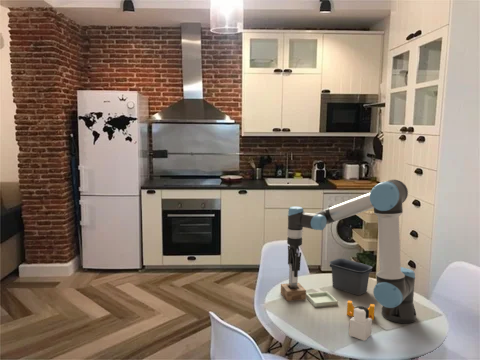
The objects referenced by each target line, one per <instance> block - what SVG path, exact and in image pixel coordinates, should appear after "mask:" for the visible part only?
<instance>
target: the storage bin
mask: <svg viewBox="0 0 480 360" xmlns="http://www.w3.org/2000/svg"><path fill="white" fill-rule="evenodd" d="M328 263H329V267H330V268H331V277H332V278H331V279H332V281H331V283H332V288H336V289H338V290H339V291H340V290H341V291H343V292H347V293H350V294H353V295H354V296H361V295H363V294H365V293H367V292H368V286H369V279H370V278H369V277H370V273H371V272H372V269H373V266H371V265H368V264H367V263H365V264H364V263H361V262H357V261H355V260H350V259H345V258H341V257H339V258H336V259H334V260H330V261H329V262H328Z"/></svg>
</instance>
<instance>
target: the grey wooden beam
mask: <svg viewBox="0 0 480 360" xmlns="http://www.w3.org/2000/svg"><path fill="white" fill-rule="evenodd" d="M288 267H289V269H288V270H289V271H288V274H289V275H288V284H289V289H297V283H299V282H297V283H292V270H293V263H290V265H288Z"/></svg>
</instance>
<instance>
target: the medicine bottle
mask: <svg viewBox="0 0 480 360" xmlns="http://www.w3.org/2000/svg"><path fill="white" fill-rule="evenodd" d="M354 307H355V308H354V317H353V316H351V318H350V319H349V326H348V336H349V337H352V338H354V339H355V338H356V339H358V340H360V341H364V342H365V341H367V339H369V337H371V336H372V327H373V320H372V319H371V318H369V310H368V309H367V307H366V306H365V307H364V306H361V305H357V306H354Z"/></svg>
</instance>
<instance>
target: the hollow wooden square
mask: <svg viewBox="0 0 480 360" xmlns="http://www.w3.org/2000/svg"><path fill="white" fill-rule="evenodd" d="M306 293H307V289H306V288H304V286H302V285H301V283H300V282H298V283H297V289H289V283H281V284H280V294H281V295H282V297H284V299H285V300H286V301H289V302H291V301H302V300H306V299H307V298H306Z"/></svg>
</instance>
